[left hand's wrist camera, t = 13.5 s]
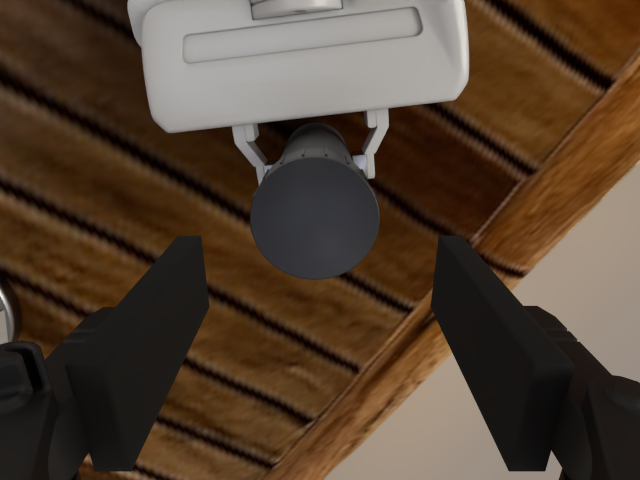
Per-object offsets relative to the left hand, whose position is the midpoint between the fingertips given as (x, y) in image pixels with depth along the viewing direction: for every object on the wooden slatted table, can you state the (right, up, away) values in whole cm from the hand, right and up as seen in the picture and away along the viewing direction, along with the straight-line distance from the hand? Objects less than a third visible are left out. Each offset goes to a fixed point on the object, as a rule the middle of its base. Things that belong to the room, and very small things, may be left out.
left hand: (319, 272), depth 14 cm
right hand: (0, +5, +15) cm, 16 cm away
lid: (0, +2, +5) cm, 6 cm away
